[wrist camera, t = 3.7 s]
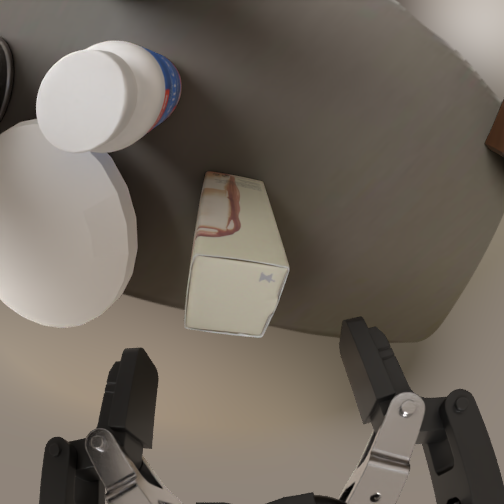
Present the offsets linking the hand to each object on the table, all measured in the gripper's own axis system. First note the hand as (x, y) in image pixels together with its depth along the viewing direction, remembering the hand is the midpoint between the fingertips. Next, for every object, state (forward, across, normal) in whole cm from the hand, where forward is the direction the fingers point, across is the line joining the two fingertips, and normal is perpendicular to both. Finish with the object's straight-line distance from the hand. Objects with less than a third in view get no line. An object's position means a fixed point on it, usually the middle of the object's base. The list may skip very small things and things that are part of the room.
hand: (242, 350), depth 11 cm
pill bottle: (+13, +4, -10) cm, 17 cm away
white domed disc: (+5, +13, -4) cm, 15 cm away
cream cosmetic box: (+13, 0, 0) cm, 13 cm away
